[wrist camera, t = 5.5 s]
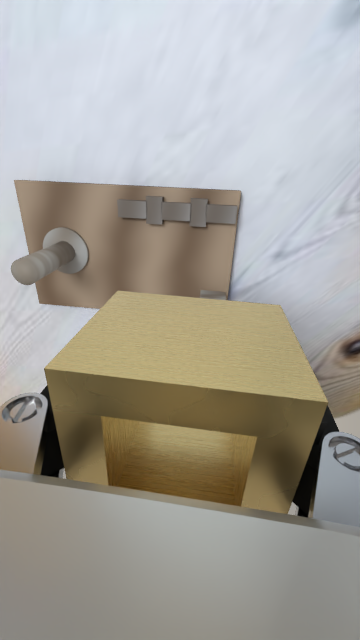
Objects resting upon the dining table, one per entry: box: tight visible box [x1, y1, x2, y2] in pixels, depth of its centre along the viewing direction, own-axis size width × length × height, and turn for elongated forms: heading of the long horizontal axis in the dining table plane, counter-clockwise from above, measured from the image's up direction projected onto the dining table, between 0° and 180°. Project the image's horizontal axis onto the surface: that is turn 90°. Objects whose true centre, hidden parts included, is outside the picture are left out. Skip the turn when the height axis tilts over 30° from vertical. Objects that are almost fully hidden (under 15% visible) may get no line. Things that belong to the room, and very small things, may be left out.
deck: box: [11, 180, 241, 309], centre depth 24 cm, size 20×12×8 cm, turn 88°
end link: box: [44, 291, 328, 514], centre depth 9 cm, size 6×6×5 cm
